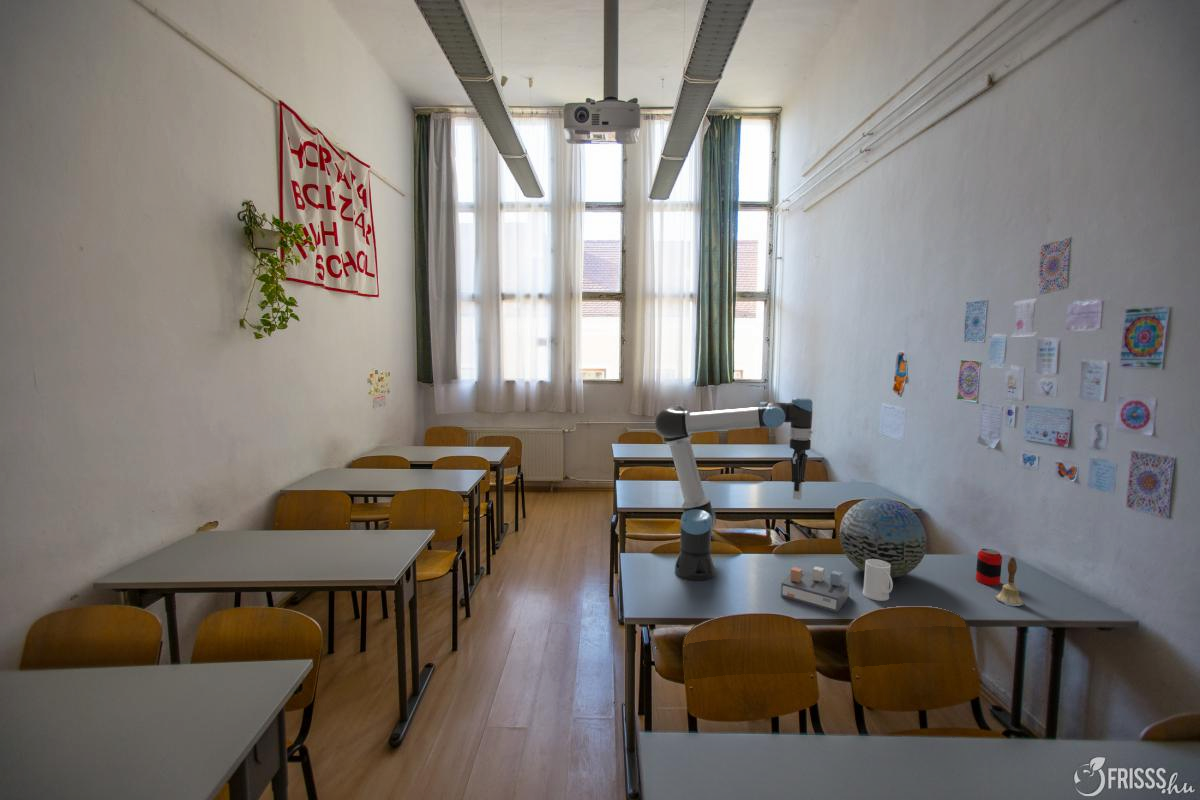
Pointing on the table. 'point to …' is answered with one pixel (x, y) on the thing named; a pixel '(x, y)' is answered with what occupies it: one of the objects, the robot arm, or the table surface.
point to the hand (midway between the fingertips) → (797, 498)
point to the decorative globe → (883, 535)
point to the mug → (877, 580)
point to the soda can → (989, 567)
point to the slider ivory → (818, 574)
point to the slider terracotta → (796, 574)
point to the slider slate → (836, 578)
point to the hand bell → (1010, 586)
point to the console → (816, 592)
